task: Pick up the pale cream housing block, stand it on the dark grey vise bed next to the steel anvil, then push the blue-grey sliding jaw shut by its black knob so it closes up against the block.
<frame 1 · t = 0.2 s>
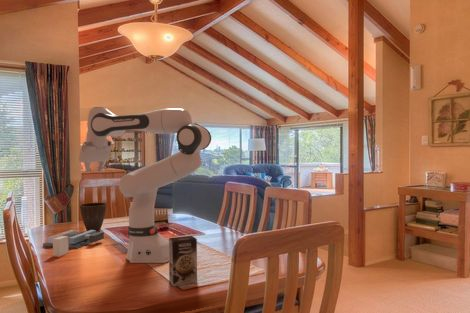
hand: (94, 171, 168), 39 cm above the table, tool pointing down, fingers open, 8 cm apart
plant pot: (93, 231, 217), on the table
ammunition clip: (159, 228, 221), on the table
housing block: (60, 254, 169), on the table
vise bed: (73, 242, 190), on the table
vise jaw: (89, 236, 188), point 3 cm above the table, slide at 0.0 cm
coffee box: (183, 282, 132), on the table
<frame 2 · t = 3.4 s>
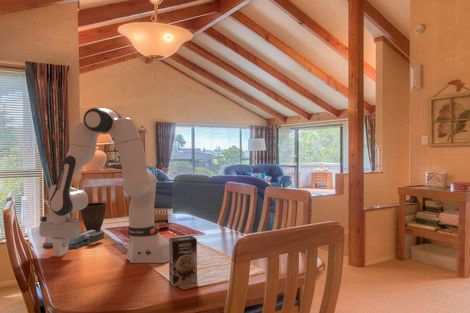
hand: (60, 246, 169), 4 cm above the table, tool pointing down, fingers closed on housing block, 3 cm apart
housing block: (60, 254, 169), on the table, touching gripper
everything else where it was.
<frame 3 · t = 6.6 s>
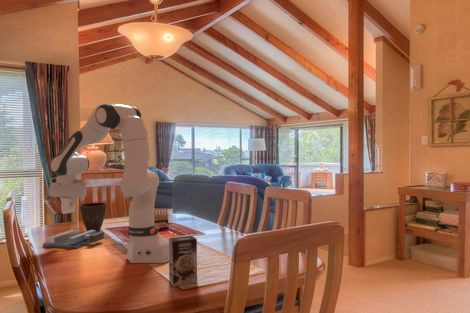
hand: (68, 205, 189), 20 cm above the table, tool pointing down, fingers closed on housing block, 3 cm apart
housing block: (68, 212, 189), point 16 cm above the table, touching gripper
everything else where it was.
when the fingers open (6 cm above the table, at t = 9.5 s): housing block drops 1 cm, resting on vise bed.
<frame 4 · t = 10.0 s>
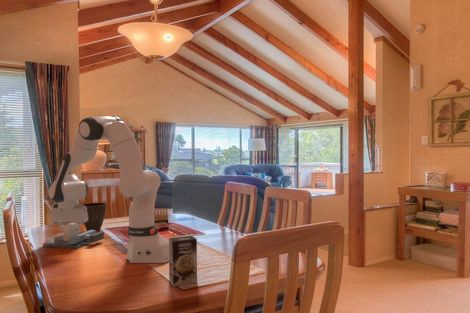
hand: (70, 230, 191), 6 cm above the table, tool pointing down, fingers open, 8 cm apart
housing block: (70, 239, 191), point 1 cm above the table, touching vise bed
everything else where it was.
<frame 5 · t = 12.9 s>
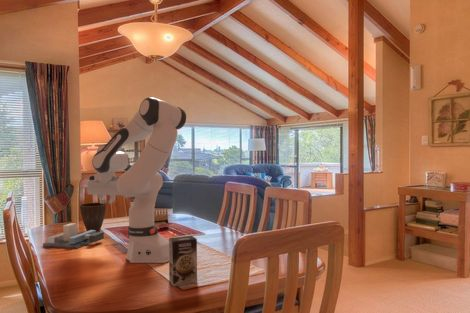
hand: (106, 203, 185), 21 cm above the table, tool pointing down, fingers open, 3 cm apart
nothing on the table moved.
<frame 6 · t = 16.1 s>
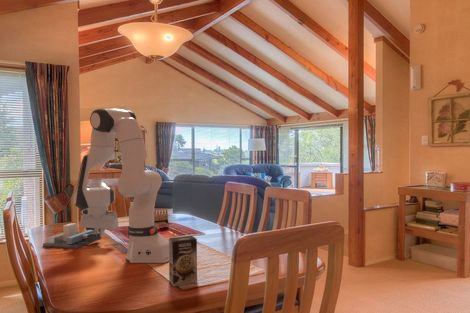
hand: (99, 236, 187), 4 cm above the table, tool pointing down, fingers closed
vise jaw: (87, 236, 188), point 4 cm above the table, slide at 1.2 cm, touching gripper
everything else where it was.
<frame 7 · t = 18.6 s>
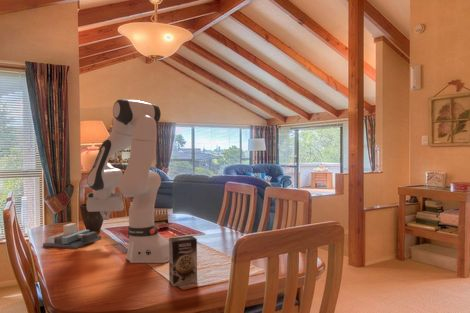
hand: (106, 219, 189), 12 cm above the table, tool pointing down, fingers closed
vise jaw: (83, 236, 189), point 4 cm above the table, slide at 4.0 cm
everything else where it was.
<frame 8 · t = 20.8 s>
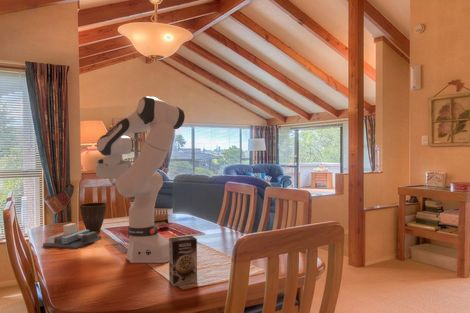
hand: (114, 185, 195), 29 cm above the table, tool pointing down, fingers closed
nothing on the table moved.
at the end: housing block inside the target area on the vise bed (0.1 cm from its centre), point 1.5 cm above the vise bed's base; vise jaw slide at 4.0 cm; housing block tilted 0° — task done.
